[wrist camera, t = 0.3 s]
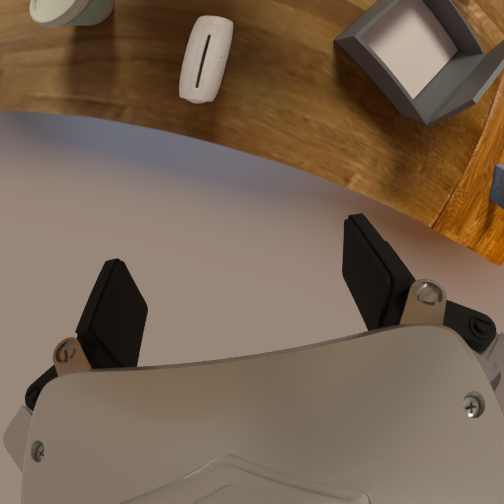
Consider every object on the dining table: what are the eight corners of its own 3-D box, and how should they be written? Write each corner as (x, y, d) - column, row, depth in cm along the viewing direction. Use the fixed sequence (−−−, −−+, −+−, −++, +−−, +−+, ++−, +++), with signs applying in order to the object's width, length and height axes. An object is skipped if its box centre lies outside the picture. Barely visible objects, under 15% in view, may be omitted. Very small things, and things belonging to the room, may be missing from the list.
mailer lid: (472, 99, 15) (476, 104, 15) (532, 16, 7) (535, 20, 7) (425, 125, 31) (428, 128, 31) (486, 54, 22) (489, 57, 22)
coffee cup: (111, -25, 19) (76, -49, 10) (132, 10, 24) (98, -9, 14) (64, 9, 21) (19, -1, 11) (82, 44, 26) (37, 41, 16)
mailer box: (333, 40, 29) (353, 36, 24) (404, -20, 21) (429, -28, 16) (400, 114, 36) (426, 124, 31) (459, 51, 28) (485, 54, 22)
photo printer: (203, 28, 28) (193, 7, 18) (234, 33, 28) (239, 13, 18) (186, 95, 33) (170, 104, 23) (217, 100, 34) (214, 110, 24)
